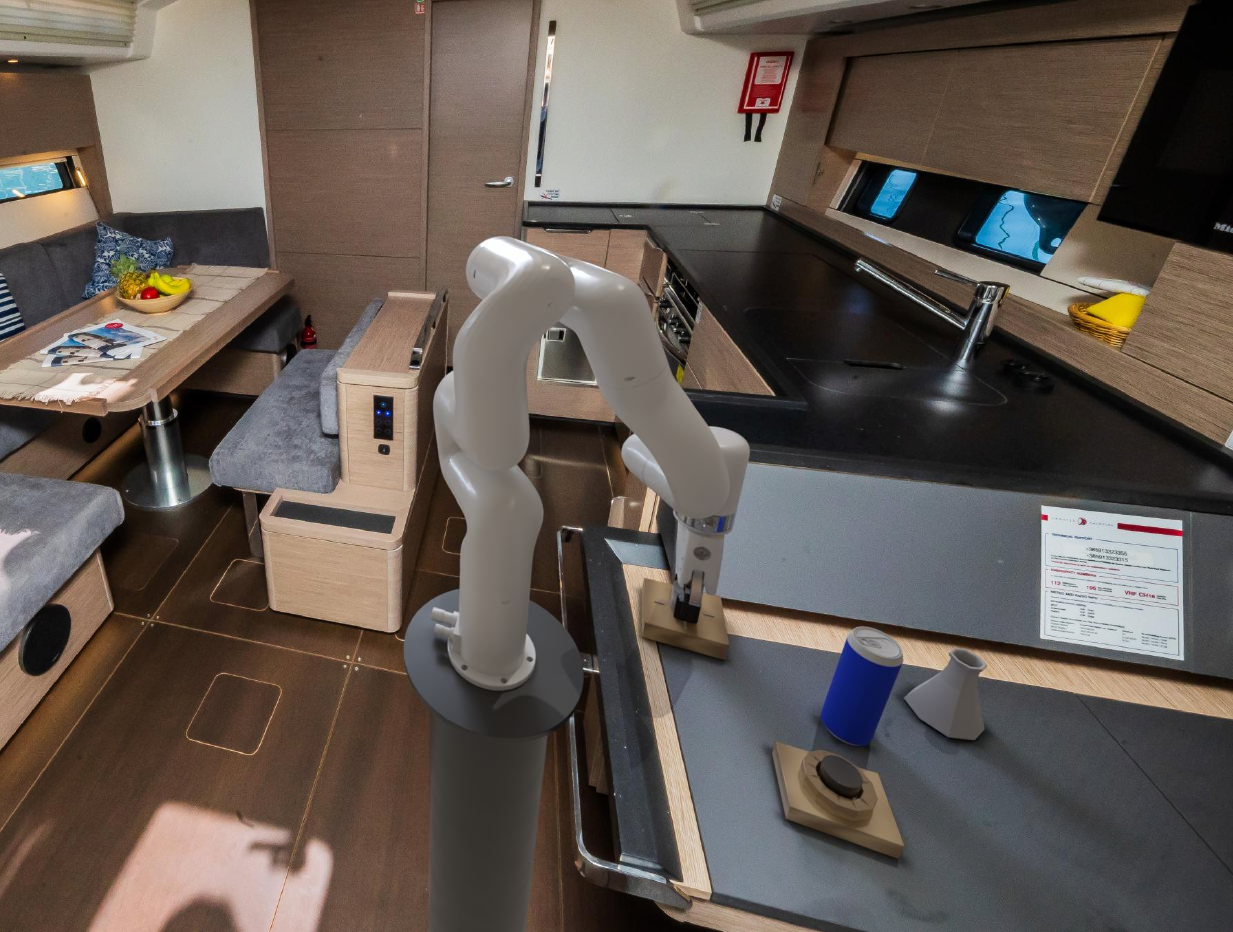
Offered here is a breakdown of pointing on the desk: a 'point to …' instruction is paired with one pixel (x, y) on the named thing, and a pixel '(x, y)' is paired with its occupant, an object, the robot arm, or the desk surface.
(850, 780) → the button
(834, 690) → the beverage can
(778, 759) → the button block
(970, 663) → the flask
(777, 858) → the desk surface
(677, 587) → the knob
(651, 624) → the knob panel
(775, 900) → the desk surface
